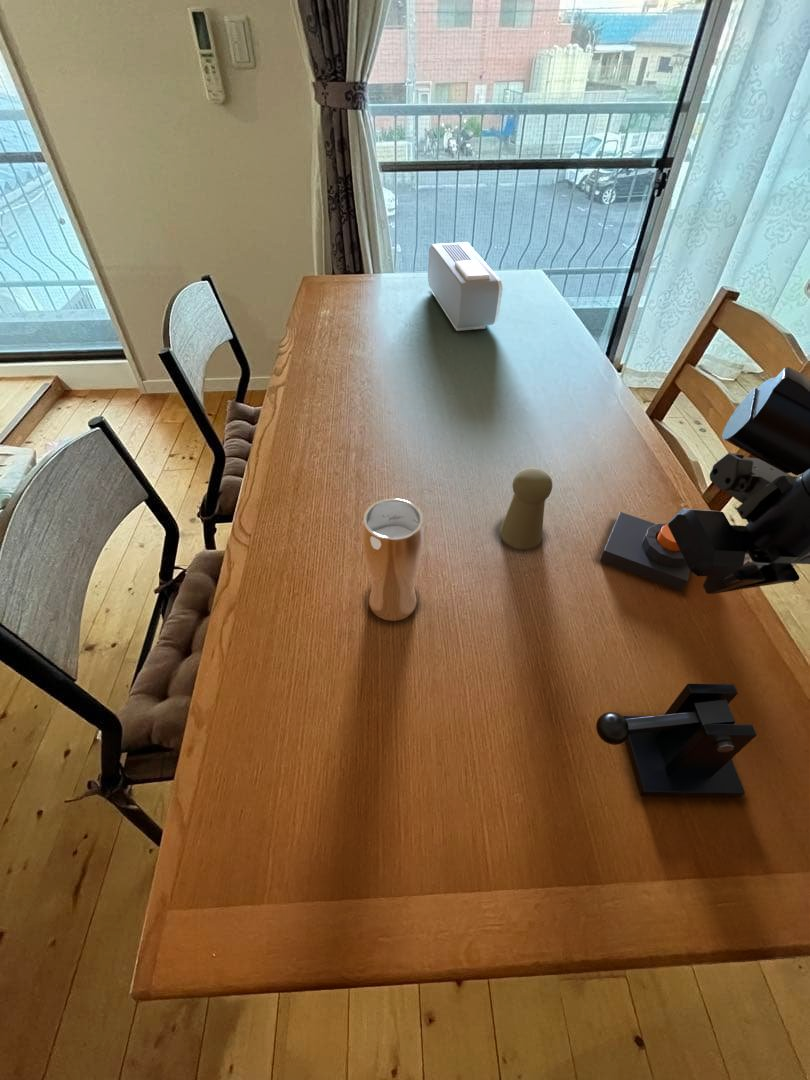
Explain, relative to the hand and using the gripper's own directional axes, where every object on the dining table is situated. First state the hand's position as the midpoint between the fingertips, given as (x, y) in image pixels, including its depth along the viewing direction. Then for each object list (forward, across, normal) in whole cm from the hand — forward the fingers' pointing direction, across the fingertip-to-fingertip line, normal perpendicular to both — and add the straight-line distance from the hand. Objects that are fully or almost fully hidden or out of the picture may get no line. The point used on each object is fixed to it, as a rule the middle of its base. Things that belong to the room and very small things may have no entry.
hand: (707, 589), depth 58 cm
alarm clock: (+28, 0, -94) cm, 99 cm away
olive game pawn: (+18, +9, -19) cm, 28 cm away
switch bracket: (+11, +3, +14) cm, 18 cm away
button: (+9, -8, -13) cm, 18 cm away
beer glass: (+20, +28, -9) cm, 36 cm away
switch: (+6, +8, +12) cm, 16 cm away
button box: (+13, -8, -14) cm, 20 cm away
